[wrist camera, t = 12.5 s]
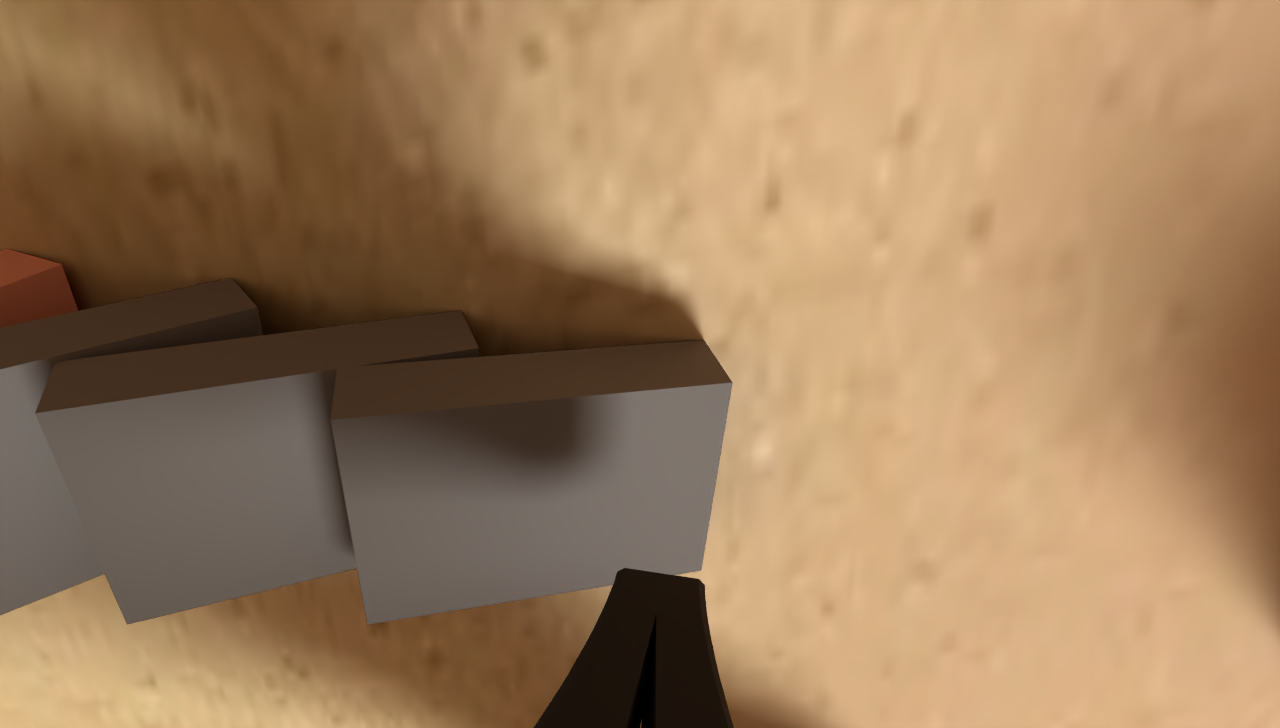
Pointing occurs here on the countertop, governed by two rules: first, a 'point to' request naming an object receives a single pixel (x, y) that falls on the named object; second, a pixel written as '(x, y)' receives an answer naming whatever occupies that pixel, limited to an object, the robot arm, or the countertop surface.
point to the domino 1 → (32, 289)
